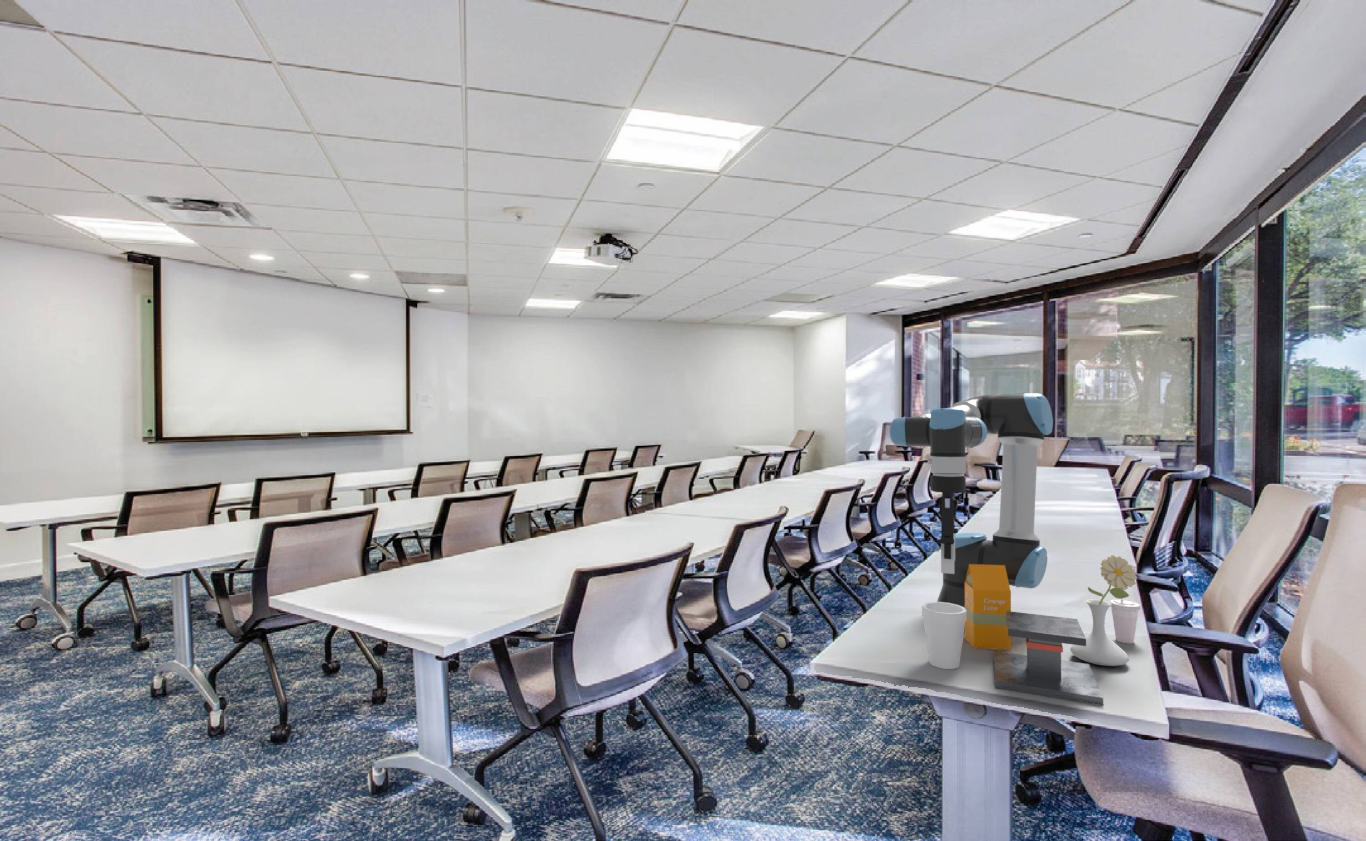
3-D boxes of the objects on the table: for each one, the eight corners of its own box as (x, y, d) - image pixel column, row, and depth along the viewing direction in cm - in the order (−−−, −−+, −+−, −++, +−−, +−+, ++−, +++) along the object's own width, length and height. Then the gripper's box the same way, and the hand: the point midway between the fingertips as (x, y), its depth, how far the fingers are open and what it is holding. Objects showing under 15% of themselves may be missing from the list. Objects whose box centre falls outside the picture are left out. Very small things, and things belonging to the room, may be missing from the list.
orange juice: (1011, 649, 152) (1011, 568, 152) (973, 647, 153) (973, 567, 153) (1000, 638, 160) (1000, 561, 160) (964, 637, 161) (963, 560, 161)
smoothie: (1112, 634, 162) (1112, 581, 162) (1142, 640, 158) (1142, 585, 158) (1107, 640, 158) (1106, 585, 158) (1137, 647, 153) (1137, 590, 153)
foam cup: (954, 655, 148) (954, 601, 148) (974, 671, 139) (974, 613, 139) (915, 656, 148) (915, 602, 148) (932, 671, 139) (932, 613, 139)
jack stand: (994, 656, 147) (994, 606, 147) (1089, 670, 139) (1088, 617, 139) (995, 687, 130) (995, 630, 130) (1103, 705, 122) (1102, 644, 122)
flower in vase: (1076, 666, 141) (1076, 557, 141) (1065, 649, 152) (1064, 548, 152) (1145, 674, 137) (1144, 561, 137) (1128, 656, 147) (1127, 551, 147)
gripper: (932, 470, 156) (933, 554, 156) (927, 478, 133) (928, 577, 133) (965, 471, 153) (966, 556, 153) (965, 479, 130) (966, 580, 130)
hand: (948, 566), depth 143 cm, fingers open, 13 cm apart
